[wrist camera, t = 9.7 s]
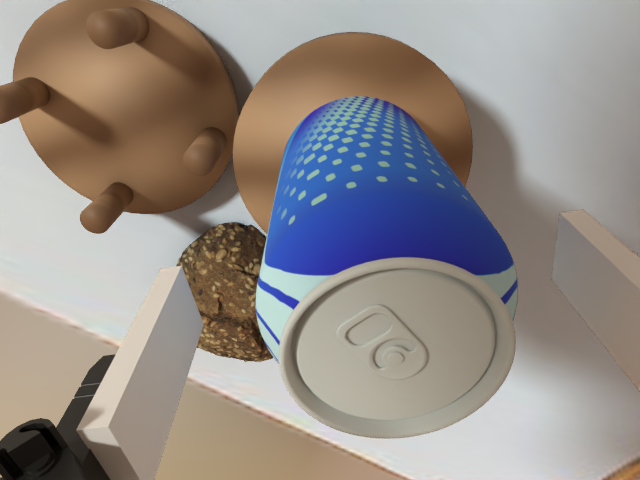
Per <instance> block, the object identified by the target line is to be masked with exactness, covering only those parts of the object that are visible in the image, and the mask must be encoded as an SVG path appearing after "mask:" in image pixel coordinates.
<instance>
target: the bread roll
mask: <svg viewBox="0 0 640 480" xmlns="http://www.w3.org/2000/svg"><path fill="white" fill-rule="evenodd" d="M265 243H266V238H265V237H263V236H262V235H261V233H260V232H259V231H258V230H257V229H256V228H255V227H254V226H252V225H249V226H247V225H241V224H239V223H236V222H232V223H223V224H218V225H217V226H215V227H212V228H211V229H209V230H208V231H207V232H206V233H204V234H203V235H202V236H200V237H199V238H197V239H196V240H195V241H194V242H193V243H192V244H190V245H189V247H188V248H186V249H185V251H184V252H183V253H182V256H181V258H179V260H178V264H177V266H182V268H183V271H184V273H185V276H186V279H187V281H188V284H189V287H190V289H191V292H192V295H193V297H194V300H195V303H196V305H197V308H198V311H199V313H200V316H201V319H202V322H203V324H204V325H203V328H202V331H201V335H200V338H199V341H198V344H197V347H196V348H200V349H203V350H205V351H209V352H210V353H213V354H215V355H218V356H223V357H224V356H225V357H229V358H231V357H232V358H236V359H240V360H244V361H245V362H246V361H255V362H257V361H259V362H261V361H264V360H268V359H272V358H273V356H272V354H271V353H270V351H269V350H268V348H267V346H266V344H265V342H264V339H263V337H262V335H261V332H260V329H259V325H258V321H257V315H256V289H257V283H258V278H259V273H260V268H261V263H262V258H263V253H264V248H265Z"/></svg>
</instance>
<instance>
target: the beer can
mask: <svg viewBox="0 0 640 480" xmlns="http://www.w3.org/2000/svg"><path fill="white" fill-rule="evenodd" d="M517 298H518V285H517V275H516V270H515V266H514V263H513V260H512V257H511V255H510V253H509V250H508V248H507V246H506V244H505V242H504V241H503V239H502V238H501V236H500V235H499V233H498V232H497V230H496V229H495V228H494V226H493V225H492V224H491V222H490V221H489V220H488V218H487V217H486V216H485V214H484V213H483V211H482V210H481V209H480V207H479V206H478V205H477V203H476V202H475V201H474V199H473V198H472V197H471V195H470V194H469V192H468V191H467V190H466V188H465V187H464V186H463V184H462V183H461V182H460V180H459V179H458V178H457V176H456V175H455V173H454V172H453V171H452V169H451V168H450V167H449V165H448V164H447V163H446V161H445V160H444V159H443V157H442V156H441V154H440V153H439V152H438V150H437V149H436V148H435V146H434V145H433V144H432V142H431V141H430V140H429V138H428V137H427V135H426V134H425V133H424V131H423V130H422V129H421V127H420V126H419V125H418V123H417V122H416V121H415V120H414V119H413V118H412V117H411V116H410V115H409V114H408V113H407V112H405V111H404V110H403V109H401V108H400V107H398V106H396V105H394V104H392V103H390V102H388V101H385V100H382V99H378V98H373V97H365V96H354V97H346V98H341V99H337V100H334V101H331V102H329V103H326V104H324V105H322V106H320V107H319V108H317V109H316V110H314V111H313V112H311V113H310V114H309V115H308V116H306V117H305V118H304V119H303V120H302V121H301V122H300V124H299V125H298V126H297V127H296V129H295V130H294V131H293V133H292V135H291V136H290V138H289V140H288V142H287V145H286V147H285V150H284V154H283V159H282V164H281V169H280V173H279V178H278V183H277V188H276V193H275V198H274V203H273V208H272V213H271V218H270V223H269V228H268V233H267V238H266V243H265V248H264V253H263V258H262V263H261V268H260V273H259V278H258V283H257V289H256V315H257V321H258V325H259V329H260V332H261V335H262V337H263V339H264V342H265V344H266V346H267V348H268V350H269V351H270V353H271V354H272V356H273V357H274V359H275V360H276V361H277V363H278V364H279V367H280V372H281V376H282V379H283V381H284V384H285V386H286V388H287V390H288V392H289V393H290V395H291V396H292V398H293V399H294V400H295V402H296V403H297V404H298V405H299V406H300V407H301V408H302V409H303V410H304V411H305V412H307V413H308V414H309V415H310V416H312V417H313V418H315V419H316V420H318V421H320V422H321V423H323V424H325V425H327V426H329V427H331V428H334V429H336V430H339V431H342V432H345V433H349V434H353V435H357V436H363V437H370V438H404V437H412V436H418V435H422V434H426V433H430V432H434V431H437V430H440V429H442V428H445V427H448V426H450V425H452V424H454V423H456V422H458V421H460V420H462V419H464V418H466V417H467V416H469V415H470V414H472V413H473V412H475V411H476V410H478V409H479V408H480V407H481V406H483V405H484V404H485V403H486V402H487V401H488V400H489V399H490V398H491V397H492V396H493V395H494V394H495V393H496V392H497V390H498V389H499V388H500V386H501V385H502V384H503V382H504V380H505V379H506V377H507V375H508V373H509V371H510V369H511V366H512V363H513V359H514V354H515V345H516V339H515V330H514V325H513V319H514V315H515V312H516V306H517Z"/></svg>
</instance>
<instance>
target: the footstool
mask: <svg viewBox="0 0 640 480" xmlns="http://www.w3.org/2000/svg"><path fill="white" fill-rule="evenodd" d="M354 96H365V97H373V98H378V99H382V100H385V101H388V102H390V103H392V104H394V105H396V106H398V107H400V108H401V109H403V110H404V111H405V112H407V113H408V114H409V115H410V116H411V117H412V118H413V119H414V120H415V121H416V122H417V123H418V125H419V126H420V127H421V129H422V130H423V131H424V133H425V134H426V135H427V137H428V138H429V140H430V141H431V142H432V144H433V145H434V146H435V148H436V149H437V150H438V152H439V153H440V154H441V156H442V157H443V159H444V160H445V161H446V163H447V164H448V165H449V167H450V168H451V169H452V171H453V172H454V173H455V175H456V176H457V178H458V179H459V180H460V182H461V183H462V184H463V186H464V187H465V185H466V182H467V179H468V176H469V172H470V167H471V162H472V149H473V144H472V131H471V126H470V121H469V116H468V113H467V111H466V108H465V105H464V102H463V100H462V98H461V97H460V95H459V93H458V91H457V89H456V87H455V86H454V85H453V83H452V82H451V81H450V79H449V78H448V77H447V75H446V74H445V73H444V72H443V71H442V70H441V69H440V68H439V67H438V66H437V65H436V64H435V63H434V62H432V61H431V60H430V59H428V58H427V57H425V56H424V55H423V54H421V53H420V52H418V51H417V50H415V49H414V48H412V47H410V46H408V45H406V44H404V43H402V42H400V41H398V40H395V39H392V38H389V37H386V36H383V35H377V34H372V33H364V32H346V33H336V34H331V35H327V36H323V37H319V38H316V39H314V40H311V41H309V42H306V43H304V44H302V45H300V46H298V47H296V48H295V49H293V50H291V51H290V52H288V53H287V54H285V55H284V56H283V57H282V58H280V59H279V60H278V61H276V62H275V63H274V64H273V65H272V66H271V67H270V68H269V69H268V70H267V71H266V72H265V73H264V75H263V76H262V77H261V79H260V80H259V82H258V83H257V84H256V86H255V87H254V89H253V90H252V92H251V93H250V95H249V97H248V99H247V101H246V103H245V104H244V106H243V109H242V111H241V114H240V117H239V119H238V122H237V126H236V130H235V135H234V142H233V168H234V173H235V179H236V183H237V186H238V189H239V192H240V195H241V197H242V199H243V202H244V204H245V206H246V208H247V209H248V211H249V212H250V214H251V215H252V217H253V218H254V220H255V221H256V222H257V224H258V225H259V226H260V227H261V228H262V229H263V230H264V232H266V233H268V228H269V223H270V218H271V213H272V208H273V203H274V198H275V193H276V188H277V183H278V178H279V173H280V169H281V164H282V159H283V154H284V150H285V147H286V145H287V142H288V140H289V138H290V136H291V135H292V133H293V131H294V130H295V129H296V127H297V126H298V125H299V124H300V122H301V121H302V120H303V119H304V118H305V117H306V116H308V115H309V114H310V113H311V112H313V111H314V110H316V109H317V108H319V107H320V106H322V105H324V104H326V103H329V102H331V101H334V100H337V99H341V98H346V97H354Z"/></svg>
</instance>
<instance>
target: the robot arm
mask: <svg viewBox="0 0 640 480" xmlns="http://www.w3.org/2000/svg"><path fill="white" fill-rule="evenodd" d="M551 279H552V281H553V282H554V283H555V284H556V286H557V287H558V288H559V290H560V291H561V292H562V293H563V295H564V296H565V297H566V298H567V300H568V301H569V302H570V303H571V305H572V306H573V307H574V309H575V310H576V311H577V312H578V314H579V315H580V316H581V317H582V319H583V320H584V321H585V323H586V324H587V325H588V326H589V328H590V329H591V330H592V331H593V333H594V334H595V335H596V337H597V338H598V339H599V340H600V342H601V343H602V344H603V345H604V347H605V348H606V349H607V351H608V352H609V353H610V354H611V356H612V357H613V358H614V359H615V361H616V362H617V363H618V364H619V366H620V367H621V368H622V370H623V371H624V372H625V373H626V375H627V376H628V377H629V378H630V380H631V381H632V382H633V384H634V385H635V386H636V387H637V389H638V390H639V391H640V258H639V257H638V256H637V255H635V254H634V253H633V252H632V251H631V250H630V249H628V248H627V247H626V246H625V245H624V244H623V243H622V242H620V241H619V240H618V239H617V238H616V237H615V236H613V235H612V234H611V233H610V232H609V231H608V230H606V229H605V228H604V227H603V226H602V225H601V224H599V223H598V222H597V221H596V220H595V219H594V218H593V217H591V216H590V215H589V214H588V213H587V212H586V211H584V210H576V211H568V212H561V213H560V215H559V222H558V230H557V238H556V246H555V254H554V262H553V270H552V278H551ZM203 325H204V324H203V322H202V319H201V316H200V313H199V311H198V308H197V305H196V303H195V300H194V297H193V295H192V292H191V289H190V287H189V284H188V281H187V279H186V276H185V273H184V271H183V268H182V266H176V267H169V268H162V269H160V271H159V273H158V275H157V277H156V279H155V281H154V283H153V285H152V287H151V288H150V290H149V292H148V294H147V296H146V298H145V300H144V302H143V304H142V306H141V307H140V309H139V311H138V313H137V315H136V317H135V319H134V321H133V323H132V325H131V327H130V328H129V330H128V332H127V334H126V336H125V338H124V340H123V342H122V344H121V346H120V348H119V349H118V351H117V353H116V354H115V355H107V356H103V357H102V358H101V359H100V360H99V361H98V362H97V363H96V364H95V365H94V366H93V367H92V368H91V369H90V370H89V371H88V373H87V375H86V377H85V378H84V380H83V382H82V384H81V387H79V389H78V391H77V392H76V394H75V396H74V397H75V398H74V399H73V400H72V401H71V403H70V405H69V406H68V408H67V410H66V412H65V414H64V415H63V417H62V419H61V420H60V422H59V424H58V426H57V427H55V426H54V424H53V423H52V422H51V421H50V420H48V419H42V418H40V419H35V420H30V421H28V422H26V423H24V424H21V425H20V426H18V427H16V428H15V429H13V430H12V431H11V432H9V433H8V434H7V435H6V436H5V437H4V438H3V439H2V440H1V441H0V474H1V475H2V478H0V480H154V479H155V476H156V473H157V470H158V467H159V464H160V461H161V457H162V454H163V451H164V448H165V445H166V441H167V438H168V435H169V432H170V429H171V426H172V423H173V420H174V416H175V413H176V410H177V407H178V404H179V400H180V397H181V394H182V391H183V388H184V385H185V382H186V379H187V376H188V372H189V369H190V366H191V363H192V360H193V357H194V353H195V350H196V347H197V344H198V341H199V338H200V335H201V331H202V328H203Z"/></svg>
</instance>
